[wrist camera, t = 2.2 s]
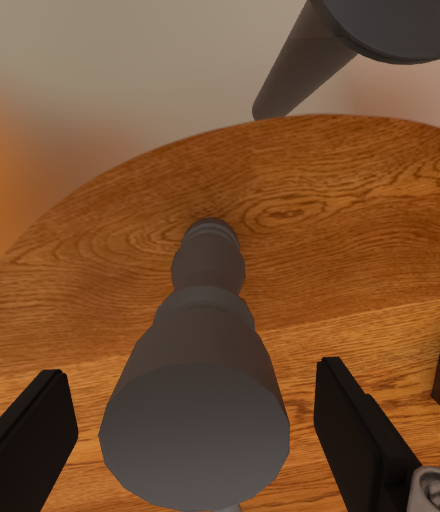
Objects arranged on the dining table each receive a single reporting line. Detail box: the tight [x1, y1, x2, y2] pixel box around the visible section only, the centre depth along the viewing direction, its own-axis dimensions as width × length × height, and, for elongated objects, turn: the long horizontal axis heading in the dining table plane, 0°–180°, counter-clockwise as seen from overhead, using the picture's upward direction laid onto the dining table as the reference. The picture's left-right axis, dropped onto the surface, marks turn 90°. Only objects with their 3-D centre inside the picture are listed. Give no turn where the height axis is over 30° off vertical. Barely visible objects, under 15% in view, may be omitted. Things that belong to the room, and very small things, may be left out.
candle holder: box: [98, 218, 290, 512], centre depth 20 cm, size 6×6×25 cm
